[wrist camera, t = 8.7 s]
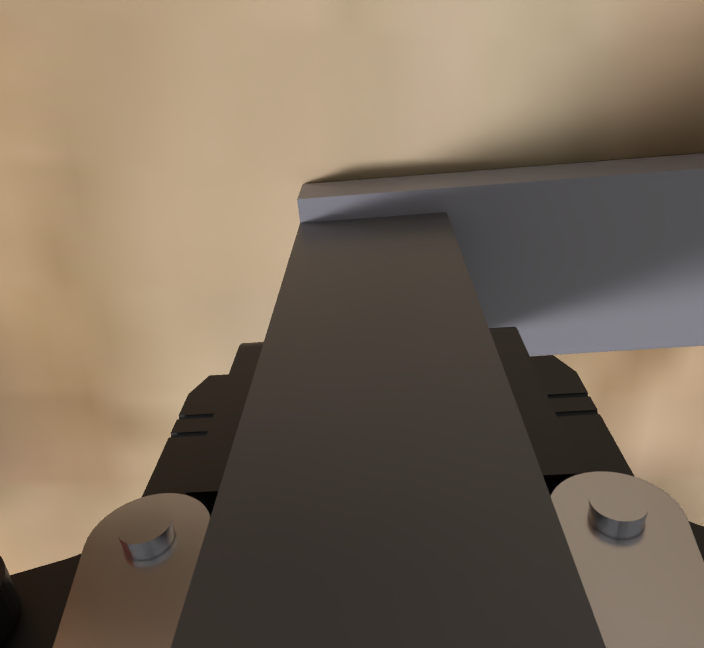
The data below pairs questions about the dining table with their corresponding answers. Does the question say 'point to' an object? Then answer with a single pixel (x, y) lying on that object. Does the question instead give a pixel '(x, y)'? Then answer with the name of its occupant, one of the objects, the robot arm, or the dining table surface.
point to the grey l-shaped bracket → (434, 404)
